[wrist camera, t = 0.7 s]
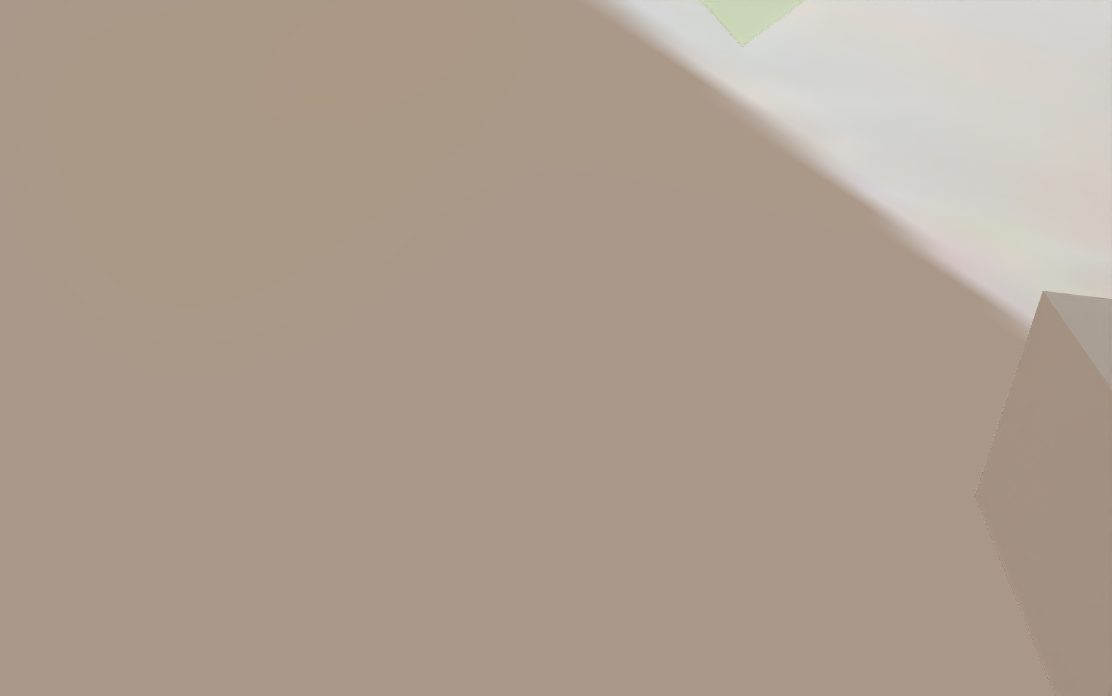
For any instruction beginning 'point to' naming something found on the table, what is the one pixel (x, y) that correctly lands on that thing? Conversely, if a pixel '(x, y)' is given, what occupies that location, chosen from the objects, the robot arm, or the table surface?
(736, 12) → the pad
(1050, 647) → the robot arm
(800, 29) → the table surface
